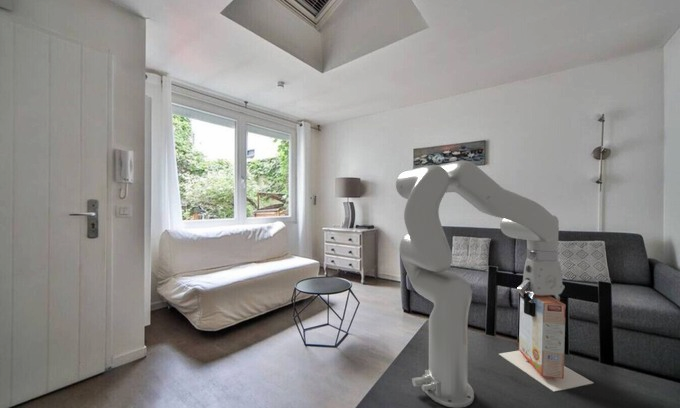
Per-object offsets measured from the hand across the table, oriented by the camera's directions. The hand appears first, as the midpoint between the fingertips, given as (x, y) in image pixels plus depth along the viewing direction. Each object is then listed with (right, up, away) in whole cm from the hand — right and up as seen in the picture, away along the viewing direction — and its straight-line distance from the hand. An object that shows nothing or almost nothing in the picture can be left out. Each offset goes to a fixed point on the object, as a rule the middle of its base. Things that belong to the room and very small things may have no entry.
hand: (540, 313), depth 81 cm
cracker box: (0, -15, 0) cm, 15 cm away
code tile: (+1, -16, 0) cm, 16 cm away
